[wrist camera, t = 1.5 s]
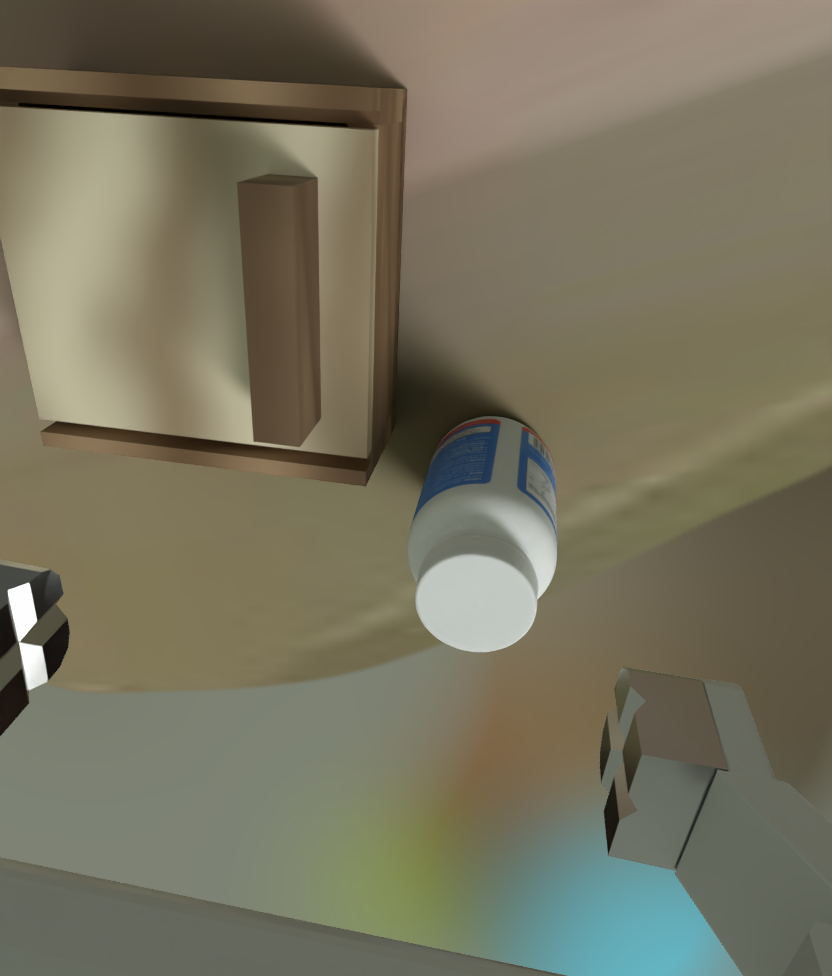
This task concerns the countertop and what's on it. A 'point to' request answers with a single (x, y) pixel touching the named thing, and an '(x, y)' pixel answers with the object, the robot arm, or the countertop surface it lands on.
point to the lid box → (262, 106)
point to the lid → (194, 274)
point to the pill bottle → (484, 534)
